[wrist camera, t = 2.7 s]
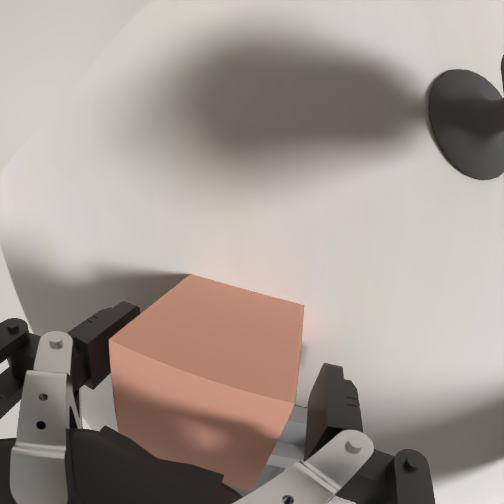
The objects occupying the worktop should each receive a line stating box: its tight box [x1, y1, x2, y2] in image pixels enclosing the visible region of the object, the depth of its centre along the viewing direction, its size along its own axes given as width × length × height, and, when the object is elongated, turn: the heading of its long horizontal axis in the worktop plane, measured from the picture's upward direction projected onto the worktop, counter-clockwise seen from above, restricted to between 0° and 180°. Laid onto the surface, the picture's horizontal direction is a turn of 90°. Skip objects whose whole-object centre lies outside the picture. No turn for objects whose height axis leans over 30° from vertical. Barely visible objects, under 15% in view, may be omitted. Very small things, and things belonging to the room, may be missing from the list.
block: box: [109, 274, 304, 491], centre depth 10 cm, size 5×5×6 cm
